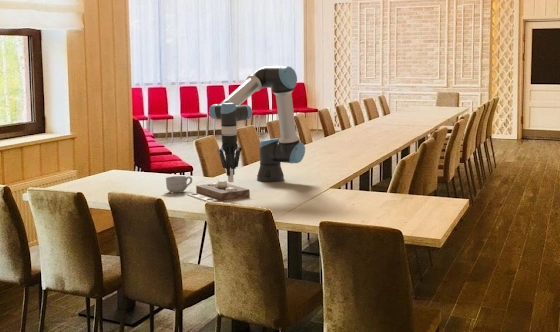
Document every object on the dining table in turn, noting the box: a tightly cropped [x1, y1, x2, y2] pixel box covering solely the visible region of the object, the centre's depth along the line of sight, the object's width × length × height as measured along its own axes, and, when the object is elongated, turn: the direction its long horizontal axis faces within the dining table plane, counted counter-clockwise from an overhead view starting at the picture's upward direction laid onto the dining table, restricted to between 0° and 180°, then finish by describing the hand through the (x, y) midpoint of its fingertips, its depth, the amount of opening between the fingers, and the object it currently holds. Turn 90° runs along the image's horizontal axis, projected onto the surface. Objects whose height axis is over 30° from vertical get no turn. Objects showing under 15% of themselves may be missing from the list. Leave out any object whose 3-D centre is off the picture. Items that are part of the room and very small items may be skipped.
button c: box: [226, 187, 235, 191], centre depth 362 cm, size 5×5×3 cm
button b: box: [217, 179, 228, 188], centre depth 368 cm, size 5×5×3 cm
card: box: [187, 192, 219, 202], centre depth 362 cm, size 5×22×1 cm, turn 34°
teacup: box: [165, 175, 193, 194], centre depth 379 cm, size 14×11×8 cm
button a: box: [209, 182, 218, 187], centre depth 375 cm, size 5×5×3 cm
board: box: [195, 182, 251, 202], centre depth 368 cm, size 16×26×4 cm, turn 34°
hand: (230, 181), depth 361 cm, fingers closed
